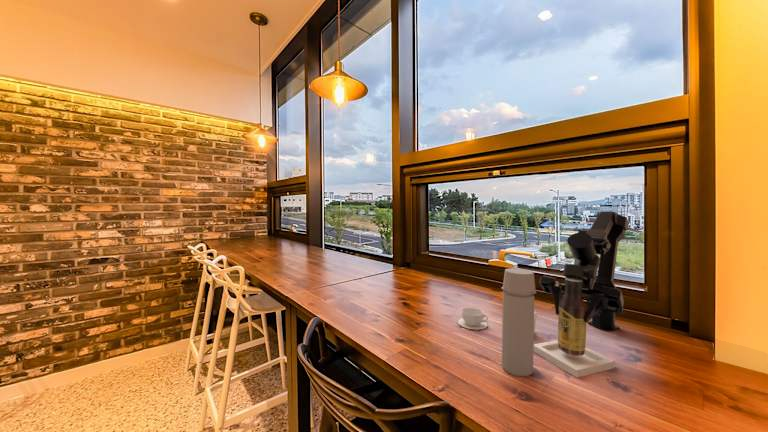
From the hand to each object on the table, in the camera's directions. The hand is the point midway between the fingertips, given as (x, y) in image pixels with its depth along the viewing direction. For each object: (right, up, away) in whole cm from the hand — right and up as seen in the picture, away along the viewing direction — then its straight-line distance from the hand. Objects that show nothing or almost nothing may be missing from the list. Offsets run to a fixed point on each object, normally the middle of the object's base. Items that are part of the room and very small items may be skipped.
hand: (570, 317), depth 74 cm
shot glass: (-3, -11, +18) cm, 21 cm away
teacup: (-19, -11, +24) cm, 32 cm away
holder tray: (+1, -12, +1) cm, 12 cm away
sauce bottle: (+1, -10, +1) cm, 10 cm away
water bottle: (-16, -12, -3) cm, 20 cm away
